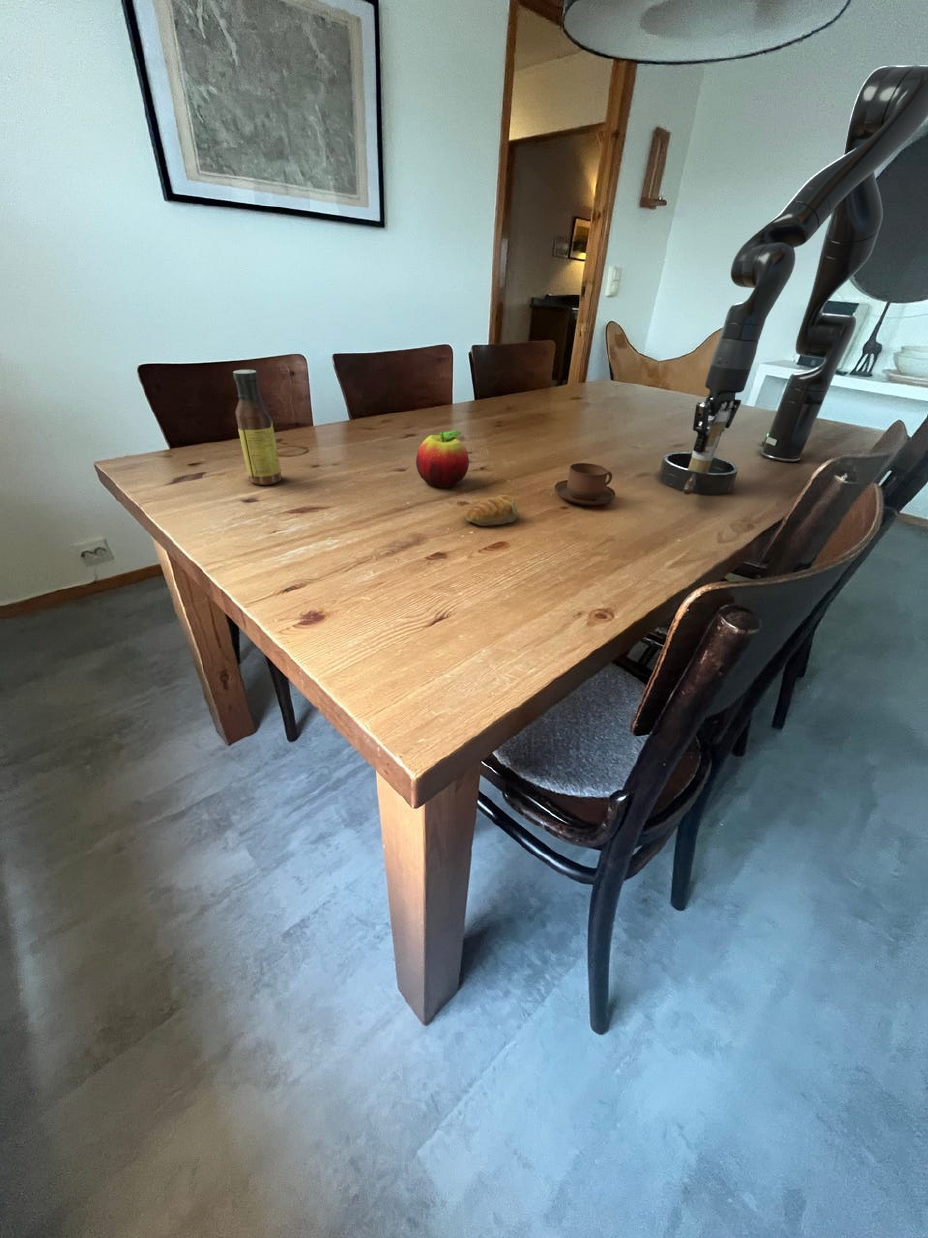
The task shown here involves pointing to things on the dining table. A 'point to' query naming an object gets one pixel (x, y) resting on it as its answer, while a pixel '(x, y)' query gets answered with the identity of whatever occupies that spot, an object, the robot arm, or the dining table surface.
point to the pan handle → (690, 484)
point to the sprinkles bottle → (708, 447)
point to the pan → (708, 483)
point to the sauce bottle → (256, 431)
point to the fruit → (442, 460)
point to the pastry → (493, 511)
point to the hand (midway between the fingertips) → (704, 449)
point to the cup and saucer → (586, 485)
